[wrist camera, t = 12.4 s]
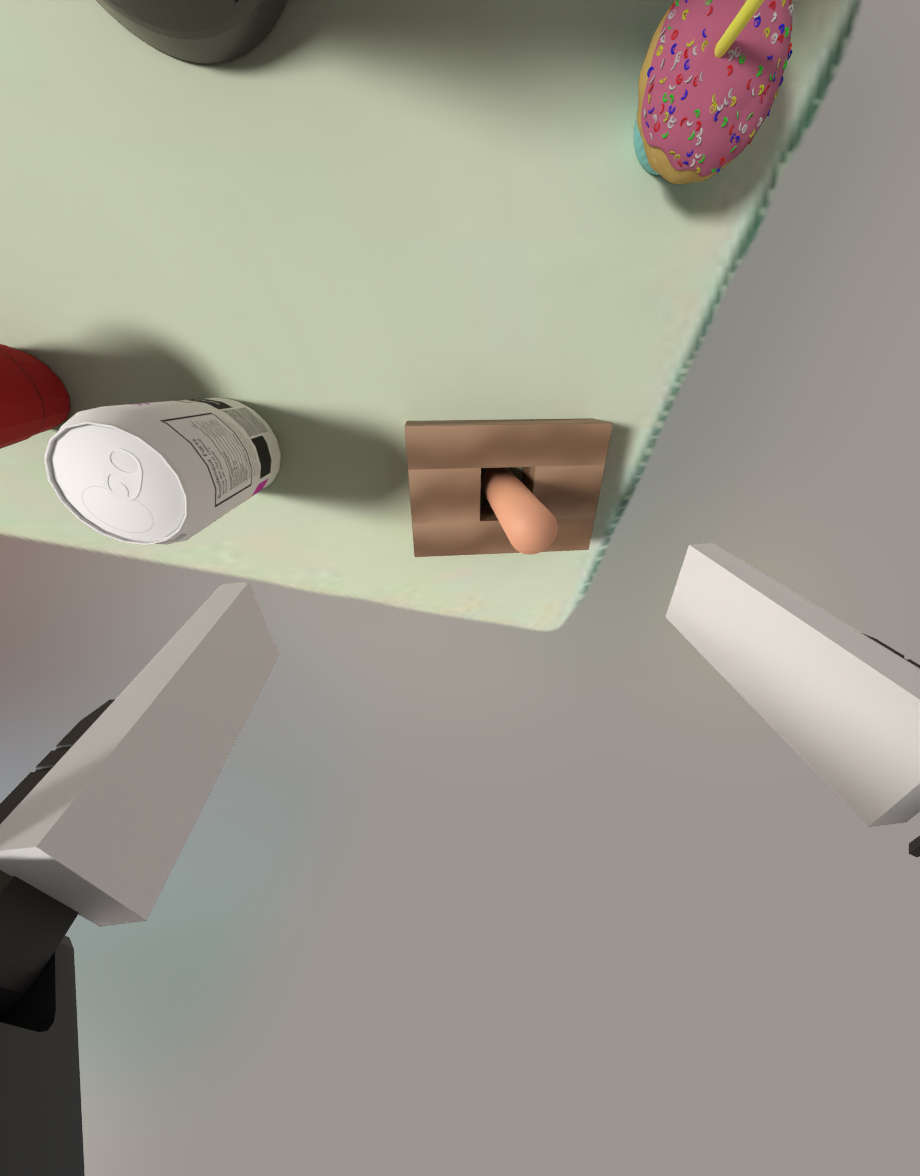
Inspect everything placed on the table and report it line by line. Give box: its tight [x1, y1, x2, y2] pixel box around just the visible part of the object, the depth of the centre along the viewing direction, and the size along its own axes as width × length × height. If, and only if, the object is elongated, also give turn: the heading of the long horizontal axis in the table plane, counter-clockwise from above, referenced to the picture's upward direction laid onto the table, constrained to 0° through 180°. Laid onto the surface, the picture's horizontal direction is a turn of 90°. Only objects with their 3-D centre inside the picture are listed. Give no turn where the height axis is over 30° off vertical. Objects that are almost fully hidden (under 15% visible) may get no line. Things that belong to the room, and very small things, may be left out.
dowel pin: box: [481, 467, 558, 554], centre depth 31 cm, size 4×4×14 cm
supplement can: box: [44, 397, 281, 545], centre depth 27 cm, size 8×8×15 cm
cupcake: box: [634, 0, 794, 184], centre depth 20 cm, size 9×8×12 cm
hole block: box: [405, 419, 613, 557], centre depth 35 cm, size 12×18×4 cm, turn 90°
